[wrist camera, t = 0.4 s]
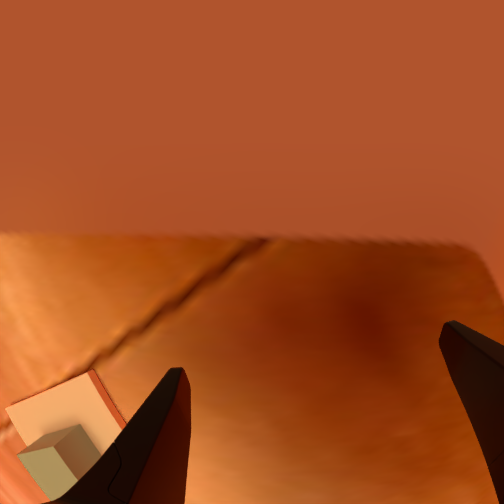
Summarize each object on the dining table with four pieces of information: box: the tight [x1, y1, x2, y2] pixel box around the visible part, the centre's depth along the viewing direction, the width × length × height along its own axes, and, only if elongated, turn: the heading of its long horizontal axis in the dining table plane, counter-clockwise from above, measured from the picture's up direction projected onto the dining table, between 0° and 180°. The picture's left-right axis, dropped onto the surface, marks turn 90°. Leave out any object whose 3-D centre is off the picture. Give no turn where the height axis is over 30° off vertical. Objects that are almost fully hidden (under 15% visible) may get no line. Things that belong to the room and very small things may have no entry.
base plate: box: [5, 369, 126, 455], centre depth 22 cm, size 14×14×1 cm
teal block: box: [17, 424, 102, 501], centre depth 19 cm, size 6×6×5 cm
